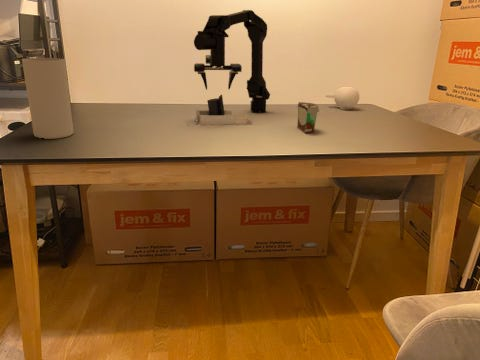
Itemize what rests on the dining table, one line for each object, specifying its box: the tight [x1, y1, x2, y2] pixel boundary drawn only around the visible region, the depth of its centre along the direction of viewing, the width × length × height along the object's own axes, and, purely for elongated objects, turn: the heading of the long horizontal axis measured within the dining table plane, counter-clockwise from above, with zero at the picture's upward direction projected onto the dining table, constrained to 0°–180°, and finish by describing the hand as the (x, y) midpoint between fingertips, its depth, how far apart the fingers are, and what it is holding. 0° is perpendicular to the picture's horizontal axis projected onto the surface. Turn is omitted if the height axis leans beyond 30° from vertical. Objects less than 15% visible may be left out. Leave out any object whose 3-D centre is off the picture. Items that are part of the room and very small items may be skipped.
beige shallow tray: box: [195, 109, 253, 126], centre depth 165 cm, size 22×13×4 cm, turn 99°
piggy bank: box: [325, 86, 360, 111], centre depth 200 cm, size 12×12×15 cm
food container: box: [296, 101, 320, 134], centre depth 152 cm, size 12×6×10 cm, turn 9°
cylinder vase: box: [21, 57, 74, 140], centre depth 132 cm, size 12×12×25 cm
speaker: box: [206, 94, 225, 115], centre depth 164 cm, size 8×6×10 cm
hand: (217, 89), depth 163 cm, fingers open, 9 cm apart
